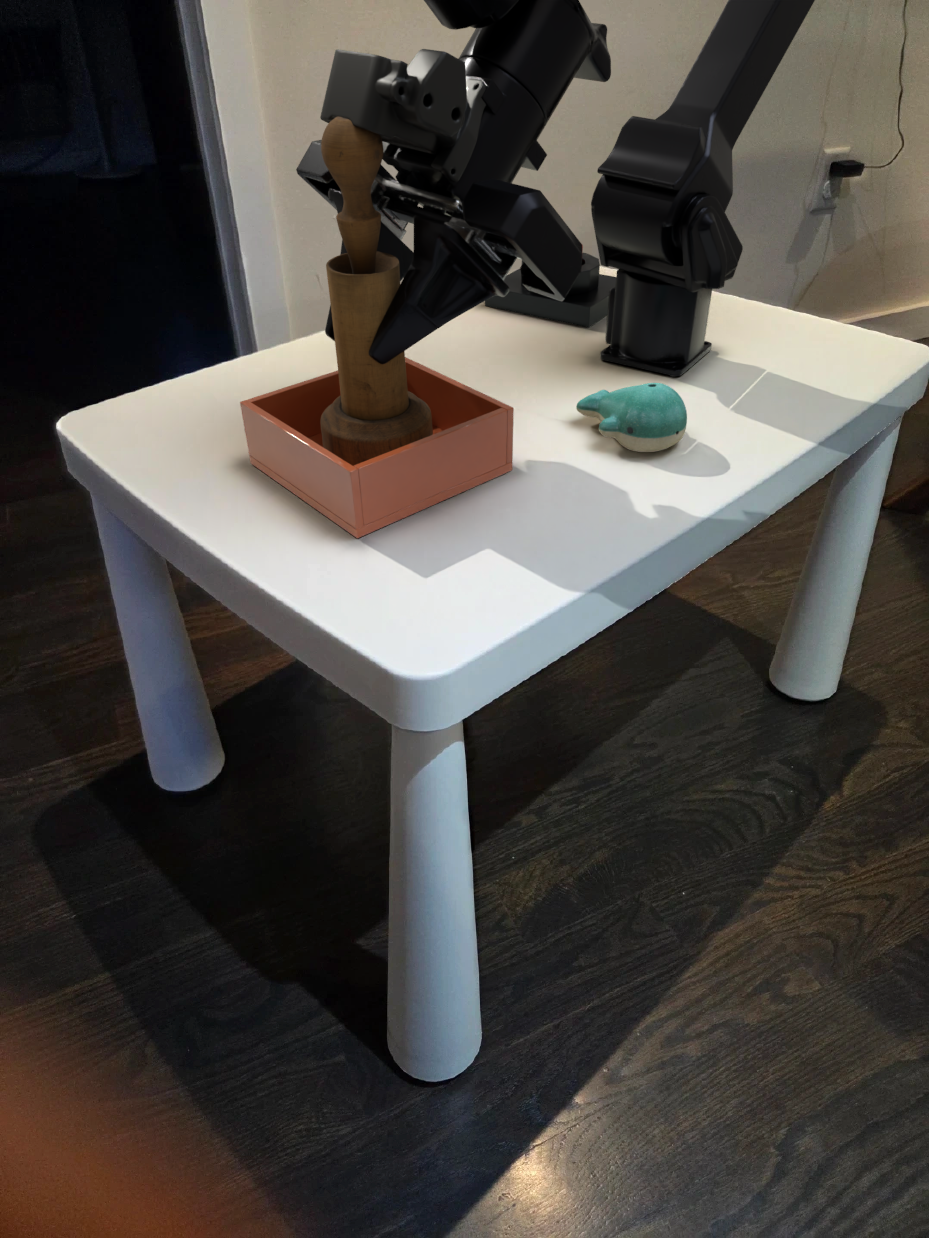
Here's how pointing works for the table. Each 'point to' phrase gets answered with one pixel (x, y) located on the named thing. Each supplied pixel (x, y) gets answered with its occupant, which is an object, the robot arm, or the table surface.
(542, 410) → the table surface
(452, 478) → the orange square tray
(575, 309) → the control block
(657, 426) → the whale figurine
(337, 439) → the mortar and pestle
